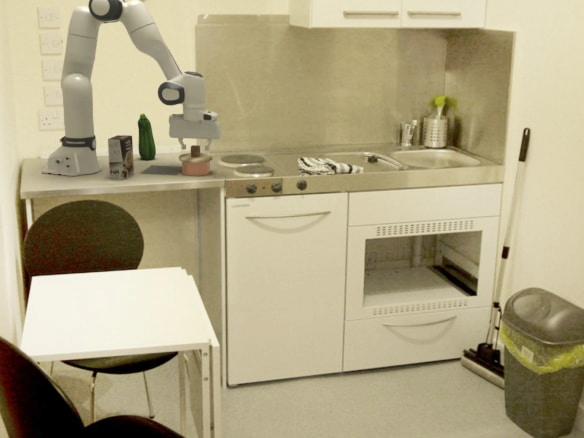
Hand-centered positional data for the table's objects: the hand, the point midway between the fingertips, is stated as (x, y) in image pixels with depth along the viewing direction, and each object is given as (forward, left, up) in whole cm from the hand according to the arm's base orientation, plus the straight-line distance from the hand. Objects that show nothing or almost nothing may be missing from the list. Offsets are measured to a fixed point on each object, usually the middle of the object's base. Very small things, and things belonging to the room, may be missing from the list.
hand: (195, 149), depth 293 cm
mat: (-14, +2, -10) cm, 17 cm away
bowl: (0, 0, -10) cm, 10 cm away
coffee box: (-26, -12, -10) cm, 30 cm away
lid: (0, 0, -4) cm, 4 cm away
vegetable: (-27, +21, -10) cm, 36 cm away
